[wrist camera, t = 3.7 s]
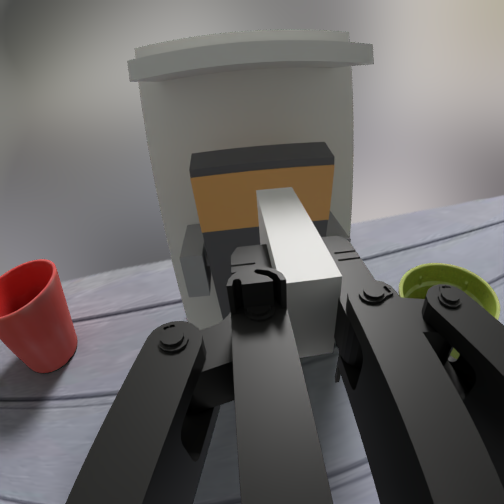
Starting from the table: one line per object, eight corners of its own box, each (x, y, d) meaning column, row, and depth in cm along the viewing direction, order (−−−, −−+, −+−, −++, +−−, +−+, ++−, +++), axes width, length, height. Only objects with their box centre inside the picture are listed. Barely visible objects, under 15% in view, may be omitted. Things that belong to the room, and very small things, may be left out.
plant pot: (453, 415, 20) (496, 349, 16) (365, 380, 26) (383, 309, 21) (472, 346, 26) (501, 280, 22) (398, 320, 32) (414, 252, 27)
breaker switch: (311, 299, 29) (329, 141, 18) (316, 317, 28) (340, 157, 17) (221, 310, 29) (186, 153, 18) (221, 329, 28) (183, 171, 16)
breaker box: (327, 288, 38) (326, 40, 24) (361, 371, 27) (393, 17, 12) (196, 303, 38) (152, 54, 23) (188, 393, 26) (98, 36, 12)
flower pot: (5, 377, 26) (-37, 315, 21) (40, 319, 36) (11, 260, 31) (68, 391, 26) (21, 321, 21) (100, 322, 35) (72, 255, 30)
